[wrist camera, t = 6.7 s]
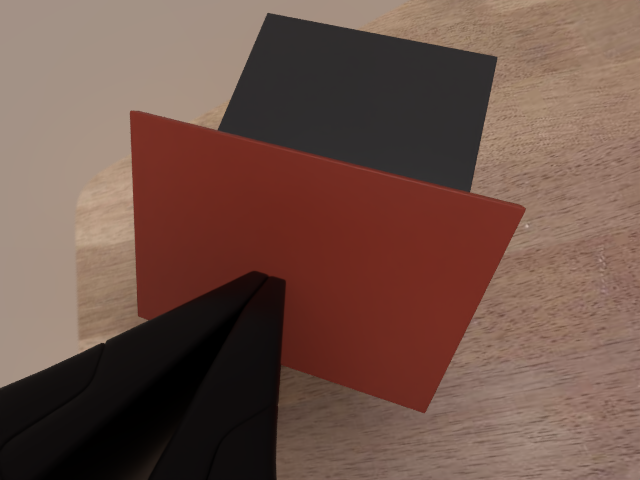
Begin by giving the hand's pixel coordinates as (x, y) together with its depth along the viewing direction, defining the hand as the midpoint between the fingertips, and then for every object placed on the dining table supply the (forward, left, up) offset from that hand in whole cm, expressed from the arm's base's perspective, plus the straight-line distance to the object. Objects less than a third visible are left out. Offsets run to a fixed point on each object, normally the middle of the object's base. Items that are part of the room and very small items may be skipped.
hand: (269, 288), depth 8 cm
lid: (+1, 0, -2) cm, 2 cm away
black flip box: (+5, +1, -13) cm, 14 cm away
